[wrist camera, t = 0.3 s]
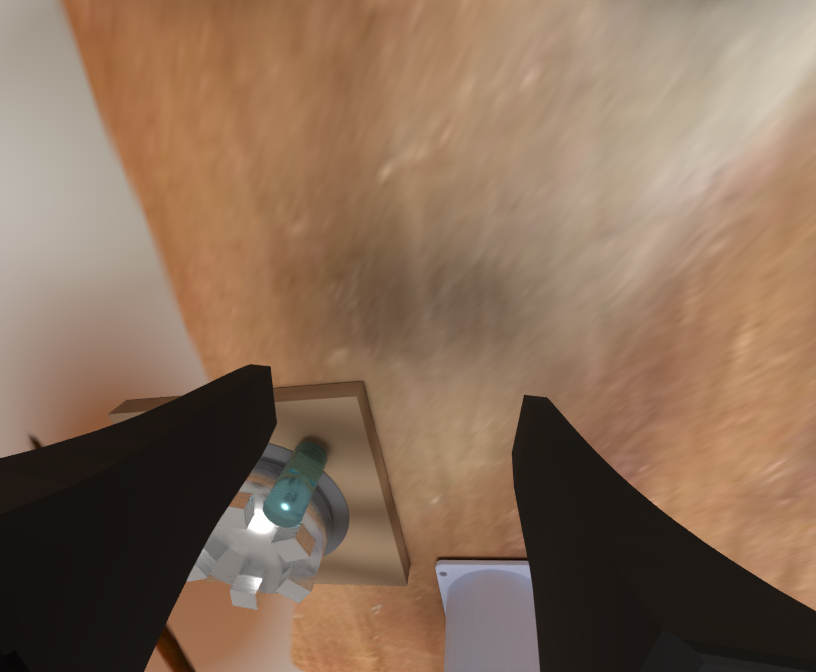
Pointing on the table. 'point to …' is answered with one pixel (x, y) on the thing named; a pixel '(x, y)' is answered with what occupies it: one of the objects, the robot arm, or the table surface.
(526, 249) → the table surface
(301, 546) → the rotary knob
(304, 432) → the dial board
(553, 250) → the table surface
